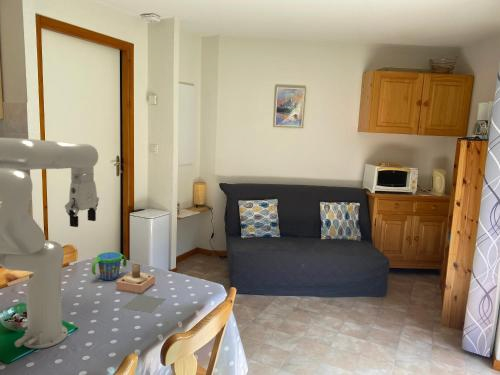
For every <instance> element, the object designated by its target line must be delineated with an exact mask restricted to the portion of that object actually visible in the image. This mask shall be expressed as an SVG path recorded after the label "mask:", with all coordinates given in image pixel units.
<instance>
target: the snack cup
mask: <svg viewBox="0 0 500 375" xmlns="http://www.w3.org/2000/svg"><path fill="white" fill-rule="evenodd" d="M122 260H123V261H122ZM121 264H122V266H123V267H124V268H126V267H127V265H128V262H127V258H126V256H125V255H123V254H122V253H120V252H116V251H114V252H113V251H109V252H106V251H105V252H102V253H100V254H97V256H96V259H95V260H93V263H92V265H91V273H92V274H93V275H96V265H98V270H99V276H100V278H101V280H104V281H111V280H115V279H118V278H119V275H120V271H121Z"/></svg>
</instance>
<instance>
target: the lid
mask: <svg viewBox="0 0 500 375" xmlns="http://www.w3.org/2000/svg"><path fill="white" fill-rule="evenodd" d="M131 272H132V273H130V272H129V273H127V274H125V275H124V276H123V277H124V281H125V282H127V283H142V282H145V281H147V280H148V273H145V272H141V264H139V263H134V264H132V265H131Z"/></svg>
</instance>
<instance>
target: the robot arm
mask: <svg viewBox="0 0 500 375" xmlns="http://www.w3.org/2000/svg"><path fill="white" fill-rule="evenodd" d="M98 161H99V152H98V149H97V148H96V147H95V146H93V145H91V144H88V143H67V142H63V141H62V142H61V141H55V140H44V139H43V140H42V139H32V138H31V139H30V138H18V137H17V138H15V137H0V202H1V204H0V267H1V268H4V269H5V270H8V271H17V272H18V271H19V272H21V271H22V272H29V273H33V275H32V277H31V278H30V279H29V280H28V281H27V284H26V286H25V295H26V316H27V317H26V320H27V321H26V322H27V323H26V324H27V328H26V329H25V330H24V334H23V336H22V337H20V338H19V339H17V340H16V341H14V346H15V347H16V348H19V347H22V346H24V347H25V348H29V349H46V348H50V347H53V346H55V345H58V344H60V343H61V342H63V341H64V340H65V339H66V338H67V336H68V332H69V331H68V328H67V327H66V326H64V325H63V320H62V319H63V310H62V309H63V308H62V307H63V305H62V304H63V303H62V302H63V301H62V269H63V268H62V267H63V263H64V256H65V251H64V250H65V249H64V247H63V246H62V245H61V244H60V243H59V242H57V241H54V240H50V239H49V240H46V235H45V232H44V231H43V230H42V228H41V226H40V225H39V224H38V222H36V220H35V219H34V218H33V217H32V215H31V213H30V212H29V210H30V209H29V208H30V205H31V204H30V203H31V198H32V194H33V181H32V177H31V176H30V175H29V173H27V172H25V171H27V170H29V171H30V170H60V169H61V170H64V169H70V172H71V173H70V178H71V180H70V181H71V182H70V186H69V198H68V200H69V201H68V202H67V203H66V204H65V205H64V208H65V210H66V214H67V215H68V217H69V227H73V228H79V216H78V214H79V212H80V211H85V210H87V221H91V222H96V220H97V212H96V211H97V207H98V205H99V201H100V197H98V192H97V186H96V181H95V180H94V178H95V177H94V176H95V174H94V171H95V170H94V166H96V165H97V163H98ZM24 170H25V171H24Z"/></svg>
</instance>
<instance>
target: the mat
mask: <svg viewBox="0 0 500 375" xmlns="http://www.w3.org/2000/svg"><path fill="white" fill-rule="evenodd" d="M166 300H167V298H162V297H157V296H150V295H146V294H145V295H144V294H136V296H135V297H133V298H132V299H131V300H129V302H127V303H126V304H124V305H123V306H122V309H128V310H133V311H139V312H145V313H149V314H152V313H153V312H154V311H155V310H157V309H158V308H159V306H160V305H162V304H163V303H164V302H165V301H166Z"/></svg>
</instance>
